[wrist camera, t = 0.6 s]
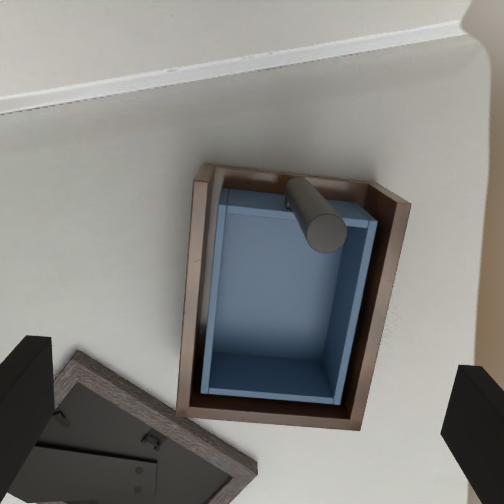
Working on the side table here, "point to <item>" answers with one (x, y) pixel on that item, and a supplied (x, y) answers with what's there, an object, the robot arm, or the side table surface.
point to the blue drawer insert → (285, 293)
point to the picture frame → (124, 448)
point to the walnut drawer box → (369, 319)
